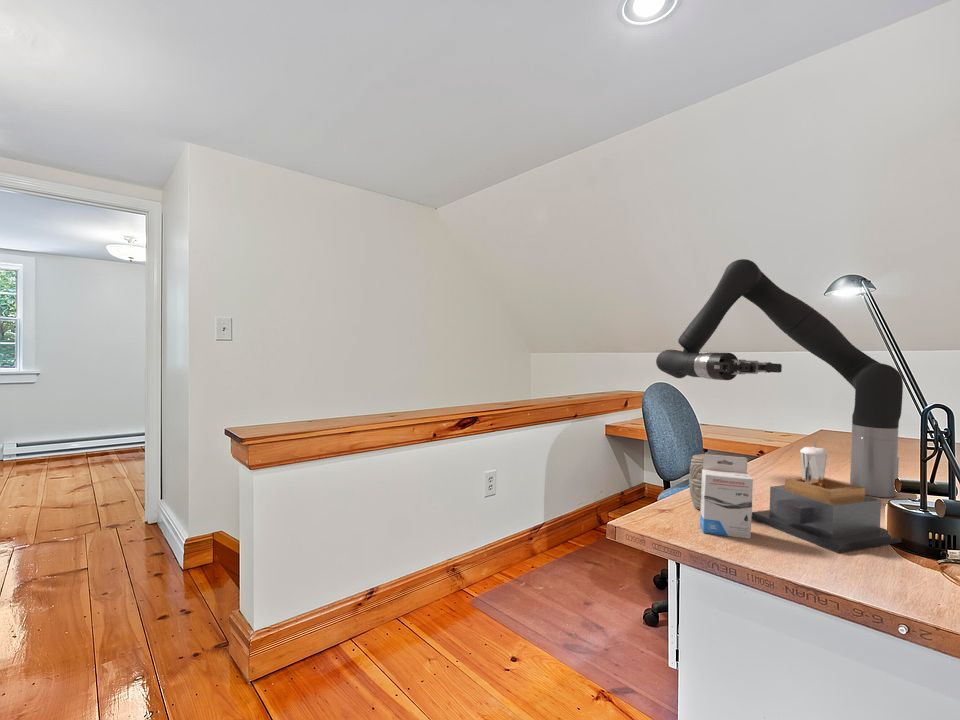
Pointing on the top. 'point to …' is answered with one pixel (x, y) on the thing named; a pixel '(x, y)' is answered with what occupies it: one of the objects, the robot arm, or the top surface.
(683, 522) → the top surface
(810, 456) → the milkshake
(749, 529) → the ink box
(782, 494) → the stepped frame block
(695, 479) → the carving
